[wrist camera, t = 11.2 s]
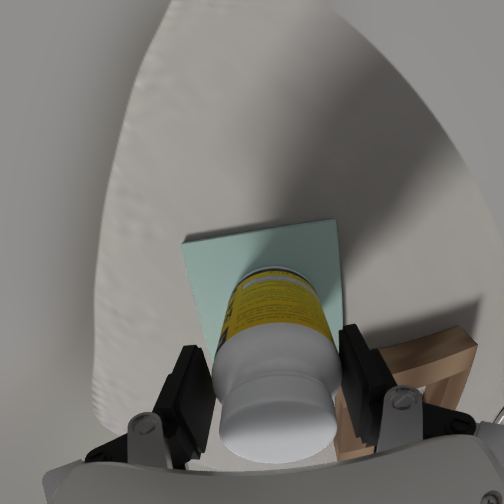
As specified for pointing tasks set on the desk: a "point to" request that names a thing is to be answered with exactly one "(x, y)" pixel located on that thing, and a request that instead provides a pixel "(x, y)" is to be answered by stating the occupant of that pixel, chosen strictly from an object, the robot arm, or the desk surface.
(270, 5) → the desk surface
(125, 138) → the desk surface
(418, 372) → the can holder
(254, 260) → the coaster plate
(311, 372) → the supplement bottle
